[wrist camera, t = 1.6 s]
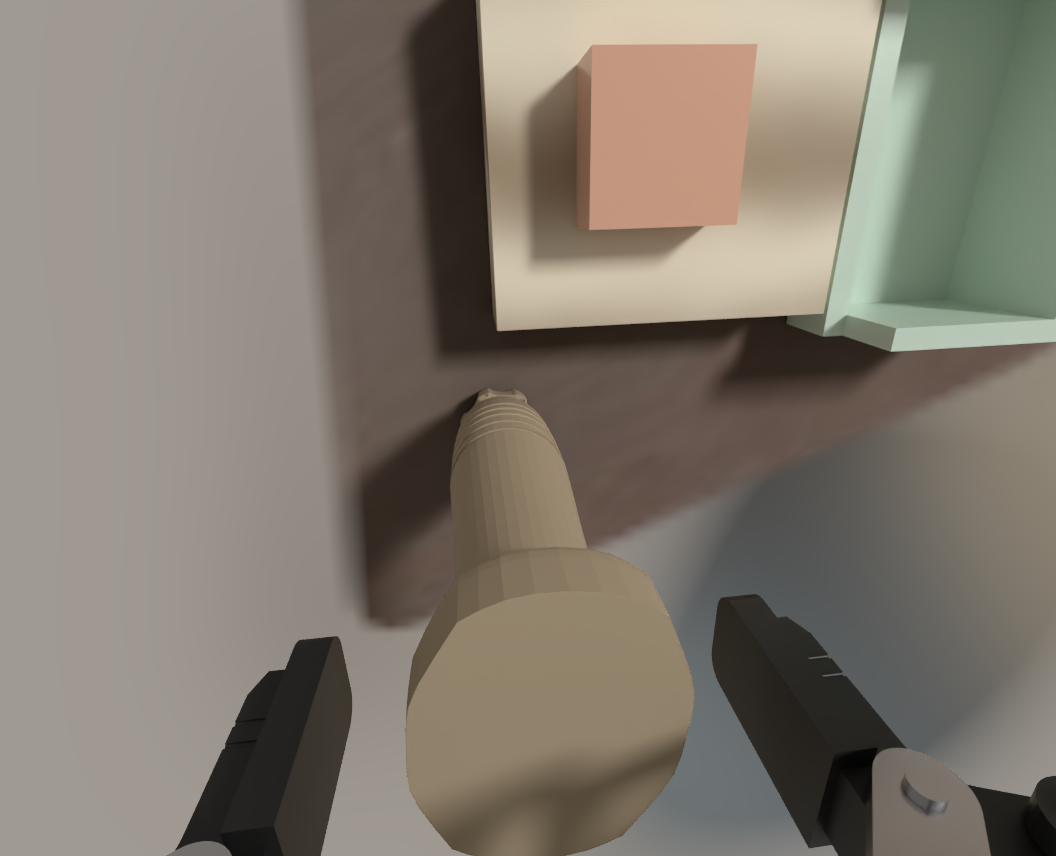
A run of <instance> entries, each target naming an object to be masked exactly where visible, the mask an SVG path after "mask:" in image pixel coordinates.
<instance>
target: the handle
mask: <svg viewBox="0 0 1056 856" xmlns="http://www.w3.org/2000/svg"><path fill="white" fill-rule="evenodd" d="M450 493H451V508H452V523H453V538H454V556H455V575H456V580H455V582H454V583H453V585H452V586H451V587H450V589H449V590H448V592H447V593H446V595H445V597H444V598H443V600H442V601H441V603H440V604H439V606H438V608H437V610H436V611H435V613H434V615H433V617H432V619H431V620H430V622H429V624H428V626H427V628H426V630H425V632H424V634H423V637H422V639H421V641H420V643H419V646H418V648H417V650H416V652H415V654H414V656H413V660H412V666H411V674H410V681H409V688H408V699H407V714H406V729H405V732H406V764H407V765H406V767H407V768H406V769H407V777H408V783H409V788H410V792H411V794H412V796H413V798H414V799H415V801H416V803H417V805H418V807H419V809H420V810H421V811H422V812H423V814H424V815H425V816H426V818H427V819H428V820H429V821H430V823H431V824H432V825H433V827H434V828H435V829H436V830H437V832H438V833H439V834H440V835H441V836H442V838H444V840H445V841H446V842H447V843H448V845H449V846H450V847H451V848H452V849H454V850H457V851H459V852H462V853H465V854H468V855H472V856H565V855H570V854H574V853H578V852H583V851H586V850H589V849H592V848H595V847H597V846H600V845H603V844H605V843H608V842H610V841H612V840H614V839H616V838H618V837H620V836H622V835H623V834H624V833H625V832H626V831H627V830H628V829H629V828H630V827H631V826H632V825H633V824H634V822H635V821H636V820H637V819H638V818H639V817H640V816H641V815H642V814H643V812H645V810H646V809H647V808H648V807H649V806H650V805H651V803H652V802H653V801H654V800H655V799H656V798H657V797H658V796H659V794H660V793H661V792H662V791H663V789H664V788H665V786H666V785H667V784H668V782H669V781H670V779H671V778H672V776H673V775H674V773H675V771H676V768H677V766H678V763H679V761H680V758H681V756H682V752H683V748H684V744H685V740H686V736H687V733H688V729H689V725H690V721H691V717H692V711H693V703H694V689H693V684H692V677H691V673H690V670H689V667H688V664H687V661H686V658H685V655H684V653H683V650H682V647H681V645H680V642H679V639H678V637H677V634H676V632H675V629H674V627H673V624H672V622H671V619H670V617H669V615H668V612H667V611H666V609H665V607H664V605H663V603H662V601H661V599H660V597H659V595H658V593H657V591H656V589H655V587H654V585H653V584H652V581H651V580H650V578H649V577H648V575H647V574H646V573H645V572H644V571H642V570H641V569H639V568H637V567H636V566H634V565H633V564H631V563H630V562H628V561H625V560H623V559H621V558H619V557H616V556H614V555H612V554H609V553H605V552H600V551H595V550H590V549H587V546H586V542H585V539H584V535H583V531H582V528H581V524H580V520H579V516H578V512H577V508H576V504H575V500H574V497H573V493H572V489H571V485H570V481H569V477H568V473H567V469H566V466H565V463H564V461H563V458H562V456H561V453H560V451H559V449H558V446H557V444H556V442H555V440H554V438H553V436H552V434H551V433H550V431H549V429H548V427H547V425H546V424H545V422H544V421H543V420H542V418H541V417H540V416H539V414H538V413H537V412H536V411H535V410H534V409H533V408H532V407H531V406H529V405H528V404H527V399H526V397H525V396H524V395H523V394H522V393H521V392H519V391H518V390H515V389H512V390H510V391H506V392H498V391H494V390H491V389H490V388H487V389H484V390H482V391H480V392H479V394H478V398H477V401H476V403H475V404H474V406H473V407H472V408H471V410H470V411H468V412H467V413H465V414H463V416H462V418H461V421H460V424H459V430H458V434H457V437H456V441H455V446H454V451H453V458H452V468H451V480H450Z"/></svg>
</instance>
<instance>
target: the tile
mask: <svg viewBox="0 0 1056 856" xmlns="http://www.w3.org/2000/svg"><path fill="white" fill-rule="evenodd" d="M757 45H758V44H646V45H591V47H590V48H589V49H588V51H587V52H586V53H585V55H584V56H583V57H582V58H581V60H580V61H579V62H578V64H577V144H576V228H579V229H585V230H606V229H633V228H661V227H688V226H715V225H737V218H738V209H739V200H740V192H741V183H742V175H743V166H744V157H745V149H746V140H747V131H748V123H749V114H750V106H751V97H752V88H753V80H754V71H755V62H756V54H757Z"/></svg>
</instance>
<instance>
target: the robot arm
mask: <svg viewBox="0 0 1056 856" xmlns="http://www.w3.org/2000/svg"><path fill="white" fill-rule="evenodd" d="M712 662H713V667H714V671H715V675H716V678H717V680H718V682H719V684H720V686H721V688H722V690H723V691H724V693H725V695H726V697H727V699H728V701H729V703H730V704H731V706H732V708H733V710H734V712H735V714H736V715H737V717H738V719H739V721H740V722H741V725H742V726H743V728H744V730H745V732H746V734H747V735H748V737H749V739H750V741H751V743H752V745H753V747H754V748H755V750H756V752H757V754H758V756H759V757H760V759H761V761H762V763H763V765H764V767H765V769H766V770H767V772H768V774H769V776H770V778H771V779H772V781H773V783H774V785H775V787H776V789H777V791H778V792H779V794H780V796H781V798H782V800H783V801H784V803H785V805H786V807H787V809H788V811H789V812H790V814H791V816H792V818H793V820H794V821H795V823H796V825H797V827H798V829H799V831H800V833H801V835H802V836H803V838H804V840H805V842H806V844H807V845H808V847H809V848H813V847H820V846H827V845H833V847H834V849H835V850H836V852H837V854H838V856H1056V776H1051V777H1046V778H1044V779H1042V780H1040V781H1039V783H1038V784H1037V785H1036V788H1035V790H1034V792H1033V794H1032V796H1031V797H1028V796H1023V795H1017V794H1012V793H1007V792H1001V791H996V790H991V789H985V788H980V787H975V786H971V785H967V784H966V783H965V782H964V781H963V780H962V779H961V778H960V777H959V776H958V775H957V774H956V773H954V772H953V771H952V770H951V769H949V768H948V767H947V766H945V765H944V764H942V763H941V762H939V761H937V760H935V759H934V758H932V757H930V756H928V755H925V754H923V753H920V752H917V751H914V750H910V749H907V748H906V747H905V746H904V745H903V744H902V743H901V741H900V740H899V739H898V738H897V737H896V735H895V734H894V733H893V732H892V731H891V729H890V728H889V727H888V726H887V725H886V723H885V722H884V721H883V720H882V719H881V717H880V716H879V715H878V714H877V713H876V711H875V710H874V709H873V708H872V707H871V705H870V704H869V703H868V702H867V700H866V699H865V698H864V697H863V696H862V695H861V693H860V692H859V691H858V690H857V688H856V687H855V686H854V685H853V684H852V683H851V681H850V680H849V679H848V678H847V676H843V673H842V670H841V669H840V668H839V667H838V666H837V664H836V663H835V662H834V661H833V660H832V659H829V657H828V654H827V652H826V651H825V650H824V649H823V648H822V646H821V645H820V644H819V643H818V642H817V640H816V639H815V638H814V637H813V636H812V634H811V633H809V632H808V631H806V630H805V629H804V628H802V627H801V626H799V625H798V624H796V623H795V622H793V621H792V620H791V619H789V618H788V617H779V618H777V617H776V616H775V614H774V613H773V612H772V610H771V609H770V608H769V607H768V605H767V604H766V603H765V602H764V600H763V599H762V598H761V597H760V596H758V595H756V594H752V595H742V596H734V597H733V596H732V597H724V598H721V599H720V600H719V602H718V607H717V615H716V623H715V630H714V638H713V646H712ZM351 716H352V693H351V687H350V683H349V679H348V673H347V669H346V664H345V659H344V655H343V651H342V646H341V642H340V639H339V638H338V637H337V636H335V637H325V638H316V639H306V640H299V641H298V642H297V643H296V645H295V647H294V649H293V651H292V654H291V656H290V659H289V662H288V664H287V666H286V669H285V670H277V671H269V672H268V673H267V674H266V675H265V676H264V677H263V679H262V680H261V681H260V682H259V683H258V684H257V685H256V686H255V687H254V688H253V690H252V691H251V692H250V693H249V694H248V695H247V698H246V699H245V702H244V704H243V706H242V708H241V711H240V713H239V715H238V717H237V719H236V721H235V722H236V724H235V727H233V728H232V730H231V732H230V734H229V737H228V739H227V741H226V743H225V745H226V746H225V749H223V750H222V752H221V754H220V757H219V759H218V761H217V763H216V765H215V767H214V769H213V772H212V774H211V776H210V778H209V781H208V783H207V785H206V787H205V789H204V791H203V793H202V796H201V798H200V800H199V802H198V804H197V807H196V809H195V811H194V813H193V816H192V818H191V820H190V822H189V824H188V826H187V829H186V831H185V833H184V835H183V837H182V839H181V841H180V843H179V845H178V847H177V848H176V850H175V851H174V852H172V853H171V854H169V855H167V856H321V851H322V846H323V843H324V838H325V834H326V829H327V825H328V821H329V816H330V812H331V807H332V803H333V799H334V794H335V790H336V785H337V781H338V776H339V772H340V768H341V764H342V759H343V755H344V750H345V746H346V741H347V737H348V733H349V728H350V723H351Z"/></svg>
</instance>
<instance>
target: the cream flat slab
mask: <svg viewBox="0 0 1056 856" xmlns="http://www.w3.org/2000/svg"><path fill="white" fill-rule="evenodd" d="M881 4H882V0H476V14H477V32H478V50H479V68H480V86H481V104H482V122H483V140H484V158H485V176H486V194H487V212H488V231H489V249H490V267H491V285H492V303H493V316H494V320H495V324H496V328H497V331H507V330H526V329H545V328H564V327H582V326H601V325H620V324H638V323H657V322H676V321H695V320H713V319H732V318H751V317H769V316H788V315H807V314H824V309H825V303H826V298H827V293H828V287H829V282H830V277H831V271H832V266H833V261H834V255H835V250H836V245H837V239H838V234H839V229H840V223H841V218H842V213H843V207H844V202H845V197H846V191H847V186H848V181H849V175H850V170H851V165H852V159H853V154H854V149H855V143H856V138H857V132H858V127H859V122H860V116H861V111H862V106H863V100H864V95H865V90H866V84H867V79H868V74H869V68H870V63H871V58H872V52H873V47H874V42H875V36H876V31H877V26H878V20H879V15H880V10H881ZM646 44H758V45H757V54H756V62H755V71H754V80H753V88H752V97H751V106H750V114H749V123H748V131H747V140H746V149H745V157H744V166H743V175H742V183H741V192H740V200H739V209H738V218H737V225H715V226H688V227H661V228H633V229H606V230H585V229H579V228H576V144H577V64H578V62H579V61H580V60H581V58H582V57H583V56H584V55H585V53H586V52H587V51H588V49H589V48H590V47H591V45H646Z"/></svg>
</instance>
